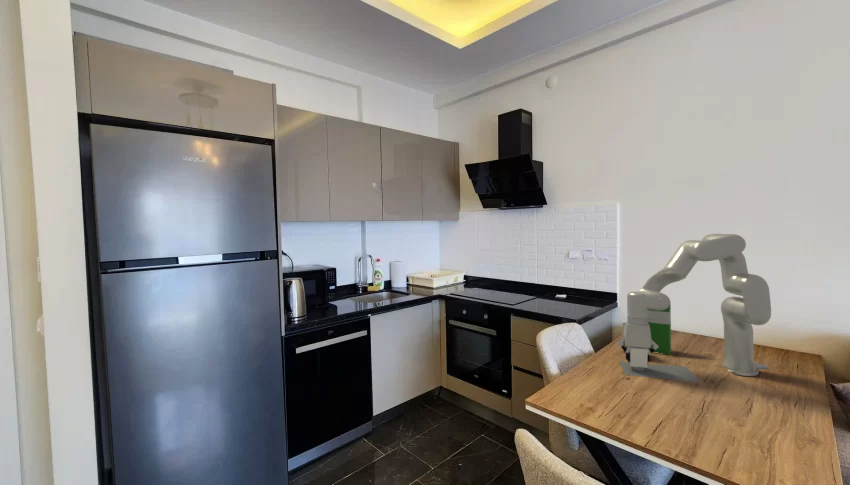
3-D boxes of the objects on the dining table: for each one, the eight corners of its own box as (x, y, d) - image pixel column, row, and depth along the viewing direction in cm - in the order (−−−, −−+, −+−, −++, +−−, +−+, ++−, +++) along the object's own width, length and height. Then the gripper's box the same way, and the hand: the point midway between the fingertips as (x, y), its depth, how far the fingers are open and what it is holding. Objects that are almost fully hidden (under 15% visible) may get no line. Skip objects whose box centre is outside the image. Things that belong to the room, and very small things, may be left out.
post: (641, 368, 157) (641, 356, 157) (643, 371, 154) (643, 359, 154) (632, 367, 158) (632, 356, 158) (634, 370, 155) (633, 358, 155)
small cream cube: (644, 362, 158) (644, 345, 158) (647, 367, 152) (647, 349, 152) (628, 361, 160) (628, 344, 160) (630, 366, 154) (630, 348, 154)
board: (686, 370, 157) (686, 366, 157) (700, 385, 142) (700, 381, 142) (619, 364, 166) (619, 361, 166) (625, 378, 151) (625, 374, 151)
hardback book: (628, 348, 186) (627, 302, 186) (631, 344, 192) (630, 300, 191) (669, 355, 175) (669, 306, 175) (671, 350, 181) (670, 303, 180)
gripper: (658, 319, 156) (658, 361, 157) (613, 317, 162) (614, 357, 163) (663, 324, 149) (663, 367, 150) (616, 321, 155) (616, 363, 156)
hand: (637, 361), depth 156 cm, fingers closed on small cream cube, 6 cm apart
